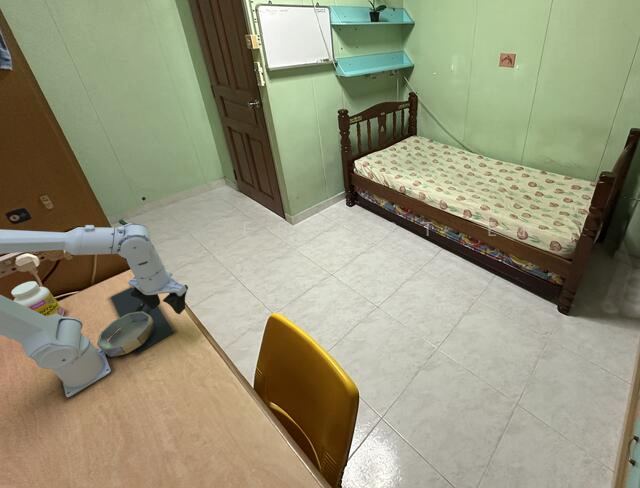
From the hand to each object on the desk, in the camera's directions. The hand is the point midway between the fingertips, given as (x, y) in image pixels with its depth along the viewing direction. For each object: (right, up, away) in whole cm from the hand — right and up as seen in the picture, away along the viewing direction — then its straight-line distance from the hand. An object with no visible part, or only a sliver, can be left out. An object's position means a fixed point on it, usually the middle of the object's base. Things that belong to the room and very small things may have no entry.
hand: (168, 308), depth 82 cm
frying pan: (-12, -7, +6) cm, 15 cm away
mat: (-15, -5, +9) cm, 18 cm away
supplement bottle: (-39, -6, +7) cm, 41 cm away
